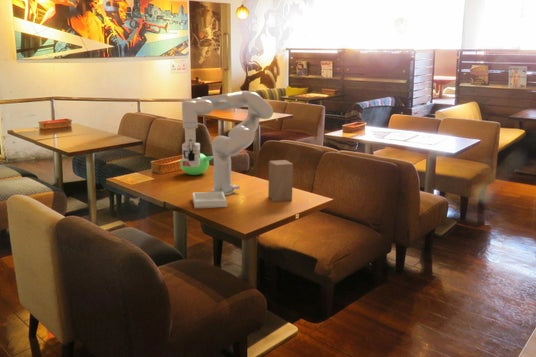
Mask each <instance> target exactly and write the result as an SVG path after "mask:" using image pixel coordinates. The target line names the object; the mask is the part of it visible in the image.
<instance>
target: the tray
mask: <svg viewBox="0 0 536 357" xmlns="http://www.w3.org/2000/svg"><path fill="white" fill-rule="evenodd" d="M192 203H193V207H194V209H209V208H211V209H213V208H227V206H228V201H227V197H226V195H224V193H223V191H222V192H211V191H206V192H205V191H201V192H200V191H199V192H192Z"/></svg>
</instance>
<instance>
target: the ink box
mask: <svg viewBox="0 0 536 357" xmlns="http://www.w3.org/2000/svg"><path fill="white" fill-rule="evenodd" d="M189 147H190V146H189ZM192 147H193V146H192ZM181 149H182V150H181V154H182V155H181V156H182V158H181V159H183V166H197V167H198V166H199V165H200V153H201V143H200V142H195V147H194V156H195V161H188V153H189V152H188V147H187V148H186V147H185V142H183V143H182V144H181Z"/></svg>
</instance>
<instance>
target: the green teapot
mask: <svg viewBox="0 0 536 357" xmlns="http://www.w3.org/2000/svg"><path fill="white" fill-rule="evenodd" d="M213 159H214V158H213V155H212V156H206V155H205V154H204V153H202V152H200V165H199V166H198V167H197V166H183V159H182V158H181V160H180V162H179V165H180V168H181V170H182V172H184V173H185V174H187V175H191V176H199V175H202V174H204V173H205V172H206V171H207V170H208V168H209V166H210V161H212V160H213Z"/></svg>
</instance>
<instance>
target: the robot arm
mask: <svg viewBox="0 0 536 357" xmlns="http://www.w3.org/2000/svg"><path fill="white" fill-rule="evenodd" d="M181 107H182V108H181V112H182V113H181V114H182V116H181V117H182V128H183V129H184V140H185V141H184V143H185V147H186V148H187V147H188V152H189V153H188V161H195V156H194V147H195V143H196V139H197V137H196V136H197V135H196V134H197V133H196V129H198V128H199V125H198V123H199V122H198V115H209V114H211V113H212V112H213V110H216V111H218V110H219V111H231V110H236V109H238V108H239V109H240V108H247V109H248V110H247V116H246V118H244V120H242V121H241V122H240V123H238V124H237V125H235V126H233V127H232V128H231V129H230V130H229V132H228V134H227V136H226V135H217V136H215V137H214V138H213V140H212V142H211V149H212V150H211V152H212V156H213V158H212V159H213V188H212V189H210V192H222V191H223V193H224V195H225V196H229V195H232V194H234V193H235V190H240V185H237V184H232V157H234V156H237V155H238V154H239V153H241V152H242V151H244V150H245V149H247V148H248V147H249V146H251V144H252V143H253V142H254V139H255V133H254V132H256V130H258V128H259V124H260V119H262V120H269V119H271V118H272V117H273V114H274V109H273V107H272V105H271V104H270V103H269V102H267V100H265V99H264V98H263V97H262V96H261V95H259V94H258V93H256V92H255V91H249V90H239V91H234V92H230V93H229V92H228V93H224V94H223V93H222V94H216V95H207V96H201V97H196V98H193V99H192V100H191V99H190V100H187V99H186V100H183V101H182V103H181ZM189 146H190V147H189ZM192 146H193V147H192Z"/></svg>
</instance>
